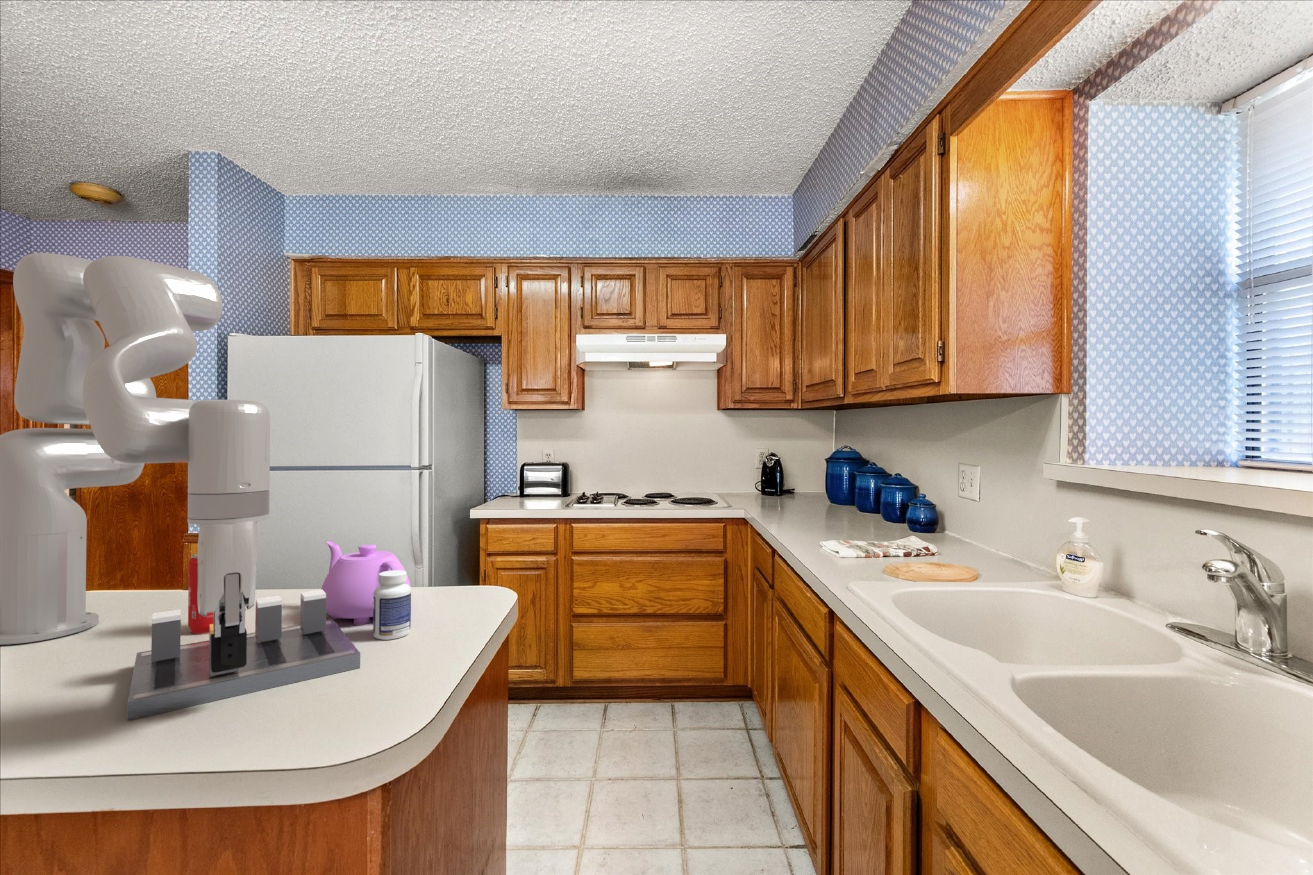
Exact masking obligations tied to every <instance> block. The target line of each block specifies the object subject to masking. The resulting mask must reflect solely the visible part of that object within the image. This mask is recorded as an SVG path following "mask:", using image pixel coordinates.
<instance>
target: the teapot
mask: <svg viewBox="0 0 1313 875" xmlns="http://www.w3.org/2000/svg"><path fill="white" fill-rule="evenodd" d="M326 545H327V546H328V548H329V550H330V563H329V569H328V573H327V575H326V577H325V579H324V581H323V583H322V584H321V589H320V590H323V591H324V592H325V593H326V614H328V615H329V616H331V619H333V620H340V619H353V625H357V626H358V625H365V624H368V623H370V618H373V595H374V590H375V589H376V588H377V587H379V586H380V584H379V582H378V579H379V573H381V572H385V571H392V570H403V571H406V569H405V567H404V566H403V564H402V563H401V562H400V560H399V558H397V556H396V555H395V554H394V553H393V552H391V551H386V550H376V549H377V545H376V544H371V543H369V544H360V545H359V546H357V549H358V551H356V552H350V553H346V554H343V553H342V550H341V548H340V545H338V544H337V543H336V542H334V541H330V540H326ZM405 584H407V585H409V586H410V588H411V589H412V586H411V582H410V578H409V576H408V574H407V579H406V582H405Z"/></svg>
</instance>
